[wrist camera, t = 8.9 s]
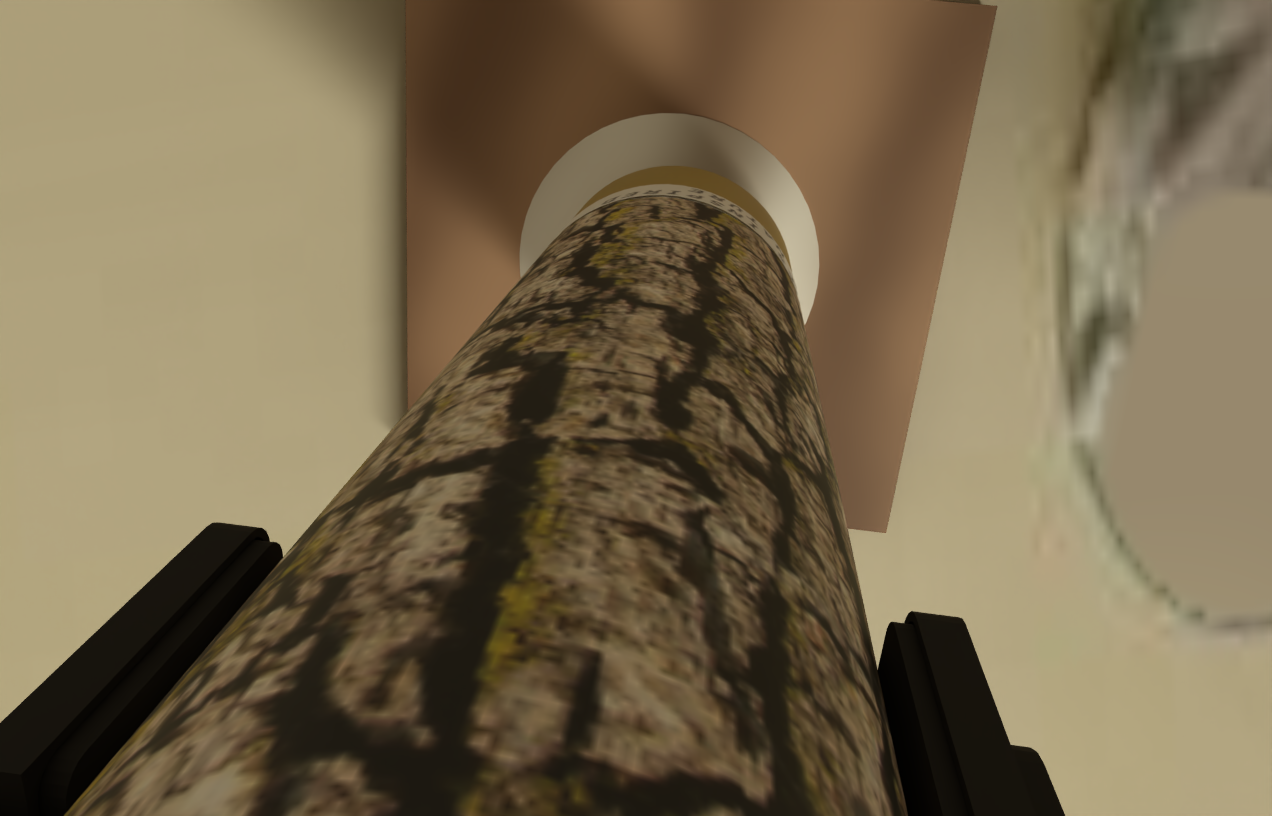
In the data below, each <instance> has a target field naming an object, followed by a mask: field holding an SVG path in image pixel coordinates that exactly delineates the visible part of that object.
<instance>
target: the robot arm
mask: <svg viewBox="0 0 1272 816" xmlns="http://www.w3.org/2000/svg"><path fill="white" fill-rule="evenodd" d="M282 558H283V553H282V549H281V546H280V545H279V544H278V543H277V542H270V540H269V536H268V534H267V532H266V531H265V530H264V529H263V528H257V527H250V526H242V525H234V524H226V523H212V524H210V525H209V526H207V527H206V528H205V529H204V530H203V531H202V532H201V533H200V534H199V535H197V536H196V537H195V538H194V539H193V540H192V541H191V542H190V543H189V544H188V545H187V546H186V547H185V548H184V549H183V550H182V551H181V552H180V553H179V554H177V555H176V556H175V557H174V558H173V559H172V560H171V561H170V562H169V563H168V564H167V565H166V566H165V567H164V568H163V569H162V570H161V571H160V572H159V573H158V574H156V575H155V576H154V577H153V578H152V579H151V580H150V581H149V582H148V583H147V584H146V585H145V586H144V587H143V588H142V589H141V590H140V591H139V592H138V593H136V594H135V595H134V596H133V597H132V598H131V599H130V600H129V601H128V602H127V603H126V604H125V605H124V606H123V607H122V608H121V609H120V610H119V611H118V612H117V613H115V614H114V615H113V616H112V617H111V618H110V619H109V620H108V621H107V622H106V623H105V624H104V625H103V626H102V627H101V628H100V629H99V630H98V631H97V632H95V633H94V634H93V635H92V636H91V637H90V638H89V639H88V640H87V641H86V642H85V643H84V644H83V645H82V646H81V647H80V648H79V649H78V650H77V651H75V652H74V653H73V654H72V655H71V656H70V657H69V658H68V659H67V660H66V661H65V662H64V663H63V664H62V665H61V666H60V667H59V668H58V669H57V670H56V671H54V672H53V673H52V674H51V675H50V676H49V677H48V678H47V679H46V680H45V681H44V682H43V683H42V684H41V685H40V686H39V687H38V688H37V689H36V690H34V691H33V692H32V693H31V694H30V695H29V696H28V697H27V698H26V699H25V700H24V701H23V702H22V703H21V704H20V705H19V706H18V707H17V708H16V709H15V710H13V711H12V712H11V713H10V714H9V715H8V716H7V717H6V718H5V719H4V720H3V721H2V722H1V723H0V816H64V815H65V814H66V812H67V811H68V810H69V809H70V808H71V807H72V805H73V804H74V803H75V802H76V801H77V799H78V798H79V797H80V796H81V795H82V794H83V792H84V791H85V790H86V789H87V788H88V787H89V785H90V784H91V783H92V782H93V781H94V779H95V778H96V777H97V776H98V775H99V774H100V772H101V771H102V770H103V769H104V768H105V767H106V765H107V764H108V763H109V762H110V761H111V759H112V758H113V757H114V756H115V755H116V754H117V752H118V751H119V750H120V749H121V748H122V747H123V745H124V744H125V743H126V742H127V741H128V739H129V738H130V737H131V736H132V735H133V734H134V732H135V731H136V730H137V729H138V728H139V727H140V725H141V724H142V723H143V722H144V721H145V719H146V718H147V717H148V716H149V715H150V714H151V712H152V711H153V710H154V709H155V708H156V707H157V705H158V704H159V703H160V702H161V701H162V699H163V698H164V697H165V696H166V695H167V694H168V692H169V691H170V690H171V689H172V688H173V687H174V685H175V684H176V683H177V682H178V681H179V680H180V678H181V677H182V676H183V675H184V674H185V672H186V671H187V670H188V669H189V668H190V667H191V665H192V664H193V663H194V662H195V661H196V660H197V658H198V657H199V656H200V655H201V654H202V652H203V651H204V650H205V649H206V648H207V647H208V645H209V644H210V643H211V642H212V641H213V640H214V638H215V637H216V636H217V635H218V634H219V632H220V631H221V630H222V629H223V628H224V627H225V625H226V624H227V623H228V622H229V621H230V620H231V618H232V617H233V616H234V615H235V614H236V612H237V611H238V610H239V609H240V608H241V607H242V605H243V604H244V603H245V602H246V601H247V600H248V598H249V597H250V596H251V595H252V594H253V592H254V591H255V590H256V589H257V588H258V587H259V585H260V584H261V583H262V582H263V581H264V580H265V578H266V577H267V576H268V575H269V574H270V573H271V571H272V570H273V569H274V568H275V567H276V565H277V564H278V563H279V562H280V561H281V560H282ZM878 675H879V680H880V684H881V689H882V694H883V699H884V703H885V708H886V713H887V717H888V722H889V727H890V732H891V736H892V741H893V746H894V751H895V755H896V760H897V765H898V769H899V774H900V779H901V784H902V788H903V793H904V798H905V802H906V807H907V812H908V816H1065V814H1064V812H1063V809H1062V807H1061V804H1060V802H1059V799H1058V797H1057V795H1056V792H1055V790H1054V787H1053V785H1052V782H1051V780H1050V777H1049V775H1048V773H1047V770H1046V768H1045V765H1044V763H1043V761H1042V759H1041V758H1040V756H1039V754H1038V753H1037V752H1036V751H1035V750H1033V749H1032V748H1029V747H1022V746H1015V745H1010V742H1009V739H1008V737H1007V734H1006V731H1005V729H1004V726H1003V723H1002V721H1001V718H1000V715H999V713H998V710H997V707H996V705H995V702H994V699H993V696H992V694H991V691H990V688H989V686H988V683H987V680H986V678H985V675H984V672H983V670H982V667H981V664H980V662H979V659H978V656H977V654H976V651H975V648H974V645H973V643H972V640H971V637H970V635H969V632H968V629H967V627H966V624H965V622H964V621H963V619H962V618H959V617H952V616H944V615H936V614H928V613H921V612H913V611H911V612H910V613H909V614H908V615H907V617H906V620H905V623H897V622H891V623H889V626H888V628H887V631H886V635H885V640H884V644H883V649H882V653H881V658H880V662H879V667H878Z"/></svg>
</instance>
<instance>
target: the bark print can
mask: <svg viewBox="0 0 1272 816" xmlns="http://www.w3.org/2000/svg"><path fill="white" fill-rule="evenodd" d="M796 292H797V288H796V284H795V280H794V277H793V274H792V269H791V264H790V259H789V254H788V251H787V248H786V245H785V242H784V240H783V237H782V235H781V233H780V231H779V229H778V227H777V225H776V224H775V222H774V220H773V219H772V217H771V216H770V215H769V213H768V212H767V210H766V209H765V208H764V207H763V206H762V205H761V204H760V203H759V202H758V200H756V199H755V198H754V197H753V196H752V195H751V194H750V193H749V192H747V191H746V190H745V189H743V188H742V187H740V186H739V185H738V184H736V183H734V182H732V181H730V180H729V179H727V178H725V177H722V176H720V175H718V174H715V173H713V172H709V171H706V170H703V169H698V168H693V167H686V166H659V167H652V168H647V169H643V170H639V171H636V172H633V173H630V174H627V175H625V176H623V177H621V178H619V179H617V180H615V181H613V182H612V183H610V184H608V185H607V186H605V187H604V188H602V189H601V190H600V191H599V192H597V193H596V194H595V195H594V196H593V197H592V198H591V199H590V200H589V201H588V202H587V203H586V204H585V205H584V206H583V207H582V208H581V209H580V211H579V212H578V213H577V214H576V215H575V217H574V218H573V219H572V220H571V221H570V222H569V223H568V224H567V225H566V226H565V227H564V228H563V229H562V230H561V232H560V233H559V234H558V235H557V236H556V237H555V239H554V240H553V241H552V242H551V243H550V244H549V246H548V247H547V248H546V249H545V250H544V251H543V253H542V254H541V255H540V256H539V257H538V259H537V260H536V261H535V262H534V263H533V264H532V266H531V267H530V268H529V269H528V270H527V271H526V273H525V274H524V275H523V276H522V277H521V279H520V280H519V281H518V282H517V283H516V284H515V286H514V287H513V288H512V289H511V290H510V291H509V293H508V294H507V295H506V296H505V297H504V299H503V300H502V301H501V302H500V303H499V304H498V306H497V307H496V308H495V309H494V310H493V311H492V313H491V314H490V315H489V316H488V317H487V319H486V320H485V321H484V322H483V323H482V324H481V326H480V327H479V328H478V329H477V330H476V331H475V333H474V334H473V335H472V336H471V337H470V339H469V340H468V341H467V342H466V343H465V344H464V346H463V347H462V348H461V349H460V350H459V351H458V353H457V354H456V355H455V356H454V357H453V359H452V360H451V361H450V362H449V363H448V364H447V366H446V367H445V368H444V369H443V370H442V371H441V373H440V374H439V375H438V376H437V377H436V378H435V380H434V381H433V382H432V383H431V384H430V386H429V387H428V388H427V389H426V390H425V391H424V393H423V394H422V395H421V396H420V397H419V398H418V400H417V401H416V402H415V403H414V404H413V406H412V407H411V408H410V409H409V410H408V411H407V413H406V414H405V415H404V416H403V417H402V418H401V420H400V421H399V422H398V423H397V424H396V426H395V427H394V428H393V429H392V430H391V431H390V433H389V434H388V435H387V436H386V437H385V438H384V440H383V441H382V442H381V443H380V444H379V446H378V447H377V448H376V449H375V450H374V451H373V453H372V454H371V455H370V456H369V457H368V458H367V460H366V461H365V462H364V463H363V464H362V466H361V467H360V468H359V469H358V470H357V471H356V473H355V474H354V475H353V476H352V477H351V478H350V480H349V481H348V482H347V483H346V484H345V485H344V487H343V488H342V489H341V490H340V491H339V493H338V494H337V495H336V496H335V497H334V498H333V500H332V501H331V502H330V503H329V504H328V505H327V507H326V508H325V509H324V510H323V511H322V513H321V514H320V515H319V516H318V517H317V518H316V520H315V521H314V522H313V523H312V524H311V525H310V527H309V528H308V529H307V530H306V531H305V533H304V534H303V535H302V536H301V537H300V538H299V540H298V541H297V542H296V543H295V544H294V545H293V547H292V548H291V549H290V550H289V551H288V553H287V554H286V555H285V556H284V557H283V558H282V560H281V561H280V562H279V563H278V564H277V565H276V567H275V568H274V569H273V570H272V571H271V573H270V574H269V575H268V576H267V577H266V578H265V580H264V581H263V582H262V583H261V584H260V585H259V587H258V588H257V589H256V590H255V591H254V592H253V594H252V595H251V596H250V597H249V598H248V600H247V601H246V602H245V603H244V604H243V605H242V607H241V608H240V609H239V610H238V611H237V612H236V614H235V615H234V616H233V617H232V618H231V620H230V621H229V622H228V623H227V624H226V625H225V627H224V628H223V629H222V630H221V631H220V632H219V634H218V635H217V636H216V637H215V638H214V640H213V641H212V642H211V643H210V644H209V645H208V647H207V648H206V649H205V650H204V651H203V652H202V654H201V655H200V656H199V657H198V658H197V660H196V661H195V662H194V663H193V664H192V665H191V667H190V668H189V669H188V670H187V671H186V672H185V674H184V675H183V676H182V677H181V678H180V680H179V681H178V682H177V683H176V684H175V685H174V687H173V688H172V689H171V690H170V691H169V692H168V694H167V695H166V696H165V697H164V698H163V699H162V701H161V702H160V703H159V704H158V705H157V707H156V708H155V709H154V710H153V711H152V712H151V714H150V715H149V716H148V717H147V718H146V719H145V721H144V722H143V723H142V724H141V725H140V727H139V728H138V729H137V730H136V731H135V732H134V734H133V735H132V736H131V737H130V738H129V739H128V741H127V742H126V743H125V744H124V745H123V747H122V748H121V749H120V750H119V751H118V752H117V754H116V755H115V756H114V757H113V758H112V759H111V761H110V762H109V763H108V764H107V765H106V767H105V768H104V769H103V770H102V771H101V772H100V774H99V775H98V776H97V777H96V778H95V779H94V781H93V782H92V783H91V784H90V785H89V787H88V788H87V789H86V790H85V791H84V792H83V794H82V795H81V796H80V797H79V798H78V799H77V801H76V802H75V803H74V804H73V805H72V807H71V808H70V809H69V810H68V811H67V812H66V814H65V815H64V816H908V812H907V807H906V802H905V798H904V793H903V788H902V784H901V779H900V774H899V769H898V765H897V760H896V755H895V751H894V746H893V741H892V736H891V732H890V727H889V722H888V717H887V713H886V708H885V703H884V699H883V694H882V689H881V684H880V680H879V675H878V670H877V666H876V661H875V656H874V651H873V647H872V642H871V637H870V632H869V628H868V623H867V618H866V614H865V609H864V604H863V599H862V595H861V590H860V585H859V581H858V576H857V571H856V566H855V562H854V557H853V552H852V547H851V543H850V538H849V533H848V529H847V524H846V519H845V514H844V510H843V505H842V500H841V496H840V491H839V486H838V481H837V477H836V472H835V467H834V462H833V458H832V453H831V448H830V444H829V439H828V434H827V429H826V425H825V420H824V415H823V411H822V406H821V401H820V396H819V392H818V387H817V382H816V377H815V373H814V368H813V363H812V359H811V354H810V349H809V344H808V340H807V335H806V330H805V326H804V321H803V316H802V311H801V307H800V302H799V300H798V299H799V297H797V296H798V292H797V293H796Z"/></svg>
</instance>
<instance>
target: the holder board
mask: <svg viewBox="0 0 1272 816" xmlns="http://www.w3.org/2000/svg"><path fill="white" fill-rule="evenodd" d="M996 10H997V6H991V5H980V4H969V3H958V2H947V1H936V0H406V182H407V369H408V410H409V409H410V408H411V407H412V406H413V404H414V403H415V402H416V401H417V400H418V398H419V397H420V396H421V395H422V394H423V393H424V391H425V390H426V389H427V388H428V387H429V386H430V384H431V383H432V382H433V381H434V380H435V378H436V377H437V376H438V375H439V374H440V373H441V371H442V370H443V369H444V368H445V367H446V366H447V364H448V363H449V362H450V361H451V360H452V359H453V357H454V356H455V355H456V354H457V353H458V351H459V350H460V349H461V348H462V347H463V346H464V344H465V343H466V342H467V341H468V340H469V339H470V337H471V336H472V335H473V334H474V333H475V331H476V330H477V329H478V328H479V327H480V326H481V324H482V323H483V322H484V321H485V320H486V319H487V317H488V316H489V315H490V314H491V313H492V311H493V310H494V309H495V308H496V307H497V306H498V304H499V303H500V302H501V301H502V300H503V299H504V297H505V296H506V295H507V294H508V293H509V291H510V290H511V289H512V288H513V287H514V286H515V284H516V283H517V282H518V281H519V280H520V279H521V277H522V276H523V275H524V274H525V273H526V271H527V270H528V269H529V268H530V267H531V266H532V264H533V263H534V262H535V261H536V260H537V259H538V257H539V256H540V255H541V254H542V253H543V251H544V250H545V249H546V248H547V247H548V246H549V244H550V243H551V242H552V241H553V240H554V239H555V237H556V236H557V235H558V234H559V233H560V232H561V230H562V229H563V228H564V227H565V226H566V225H567V224H568V223H569V222H570V221H571V220H572V219H573V218H574V217H575V215H576V214H577V213H578V212H579V211H580V209H581V208H582V207H583V206H584V205H585V204H586V203H587V202H588V201H589V200H590V199H591V198H592V197H593V196H594V195H595V194H596V193H597V192H599V191H600V190H601V189H602V188H604V187H605V186H607V185H608V184H610V183H612V182H613V181H615V180H617V179H619V178H621V177H623V176H625V175H627V174H630V173H633V172H636V171H639V170H643V169H647V168H652V167H659V166H686V167H693V168H698V169H703V170H706V171H709V172H713V173H715V174H718V175H720V176H722V177H725V178H727V179H729V180H730V181H732V182H734V183H736V184H738V185H739V186H740V187H742V188H743V189H745V190H746V191H747V192H749V193H750V194H751V195H752V196H753V197H754V198H755V199H756V200H758V202H759V203H760V204H761V205H762V206H763V207H764V208H765V209H766V210H767V212H768V213H769V215H770V216H771V217H772V219H773V220H774V222H775V224H776V225H777V227H778V229H779V231H780V233H781V235H782V237H783V240H784V242H785V245H786V248H787V251H788V254H789V259H790V264H791V269H792V274H793V277H794V280H795V284H796V288H797V292H798V296H797V297H799V299H798V300H799V302H800V307H801V311H802V316H803V321H804V326H805V330H806V335H807V340H808V344H809V349H810V354H811V359H812V363H813V368H814V373H815V377H816V382H817V387H818V392H819V396H820V401H821V406H822V411H823V415H824V420H825V425H826V429H827V434H828V439H829V444H830V448H831V453H832V458H833V462H834V467H835V472H836V477H837V481H838V486H839V491H840V496H841V500H842V505H843V510H844V514H845V519H846V524H847V528H849V529H857V530H865V531H874V532H882V533H886V531H887V526H888V521H889V516H890V512H891V507H892V502H893V497H894V493H895V488H896V483H897V478H898V474H899V469H900V464H901V460H902V455H903V450H904V445H905V441H906V436H907V431H908V426H909V422H910V417H911V412H912V408H913V403H914V398H915V393H916V389H917V384H918V379H919V374H920V370H921V365H922V360H923V355H924V351H925V346H926V341H927V337H928V332H929V327H930V322H931V318H932V313H933V308H934V303H935V299H936V294H937V289H938V285H939V280H940V275H941V270H942V266H943V261H944V256H945V251H946V247H947V242H948V237H949V232H950V228H951V223H952V218H953V214H954V209H955V204H956V199H957V195H958V190H959V185H960V180H961V176H962V171H963V166H964V162H965V157H966V152H967V147H968V143H969V138H970V133H971V128H972V124H973V119H974V114H975V109H976V105H977V100H978V95H979V91H980V86H981V81H982V76H983V72H984V67H985V62H986V57H987V53H988V48H989V43H990V39H991V34H992V29H993V24H994V20H995V15H996ZM797 292H796V293H797Z"/></svg>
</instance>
